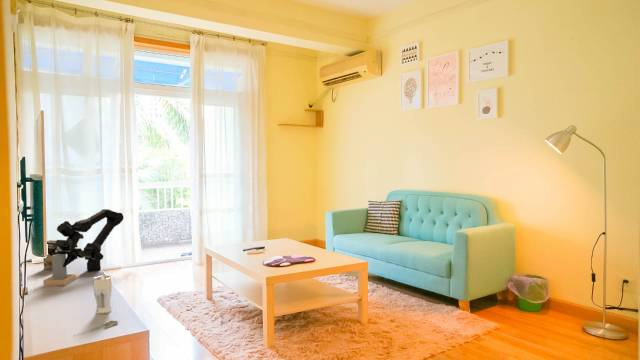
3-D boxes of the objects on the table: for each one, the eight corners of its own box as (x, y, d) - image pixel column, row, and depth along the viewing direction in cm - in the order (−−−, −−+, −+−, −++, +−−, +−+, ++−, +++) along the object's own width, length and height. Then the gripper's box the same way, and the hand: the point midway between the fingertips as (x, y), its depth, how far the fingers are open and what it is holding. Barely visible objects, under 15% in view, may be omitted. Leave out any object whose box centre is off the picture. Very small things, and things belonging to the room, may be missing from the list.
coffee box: (43, 269, 253) (41, 242, 252) (50, 266, 260) (49, 240, 259) (57, 269, 252) (56, 242, 251) (65, 267, 259) (64, 240, 258)
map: (121, 323, 175) (120, 321, 175) (70, 343, 157) (69, 341, 157) (113, 321, 177) (113, 319, 177) (62, 340, 160) (62, 338, 160)
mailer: (80, 276, 240) (80, 270, 240) (65, 285, 223) (65, 280, 223) (60, 276, 239) (60, 271, 239) (43, 286, 222) (43, 280, 222)
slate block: (67, 278, 230) (65, 254, 229) (61, 280, 226) (60, 256, 225) (58, 277, 230) (57, 254, 229) (52, 280, 226) (51, 255, 225)
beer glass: (92, 311, 187) (90, 277, 186) (108, 307, 192) (107, 274, 191) (98, 315, 182) (96, 281, 181) (115, 311, 187) (114, 277, 186)
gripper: (48, 233, 232) (33, 258, 222) (80, 233, 230) (67, 259, 220) (59, 244, 241) (45, 269, 230) (90, 244, 239) (78, 270, 228)
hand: (58, 266), depth 227 cm, fingers closed on slate block, 5 cm apart
